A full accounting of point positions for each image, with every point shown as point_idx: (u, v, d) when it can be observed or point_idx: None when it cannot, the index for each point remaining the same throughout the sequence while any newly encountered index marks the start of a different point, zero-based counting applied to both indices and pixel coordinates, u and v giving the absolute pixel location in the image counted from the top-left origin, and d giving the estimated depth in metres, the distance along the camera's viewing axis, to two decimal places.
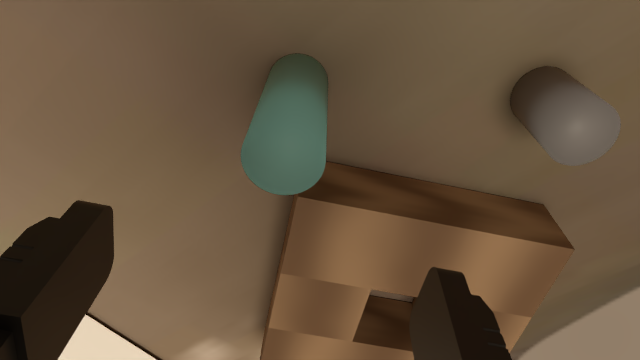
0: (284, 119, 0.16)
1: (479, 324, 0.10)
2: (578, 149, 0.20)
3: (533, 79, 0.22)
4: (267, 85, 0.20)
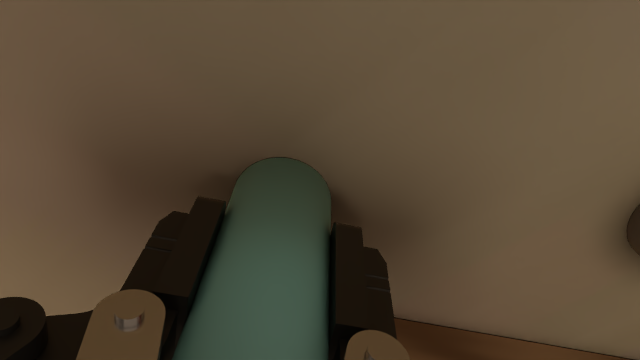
0: None
1: (363, 269, 0.11)
2: None
3: None
4: (220, 238, 0.11)
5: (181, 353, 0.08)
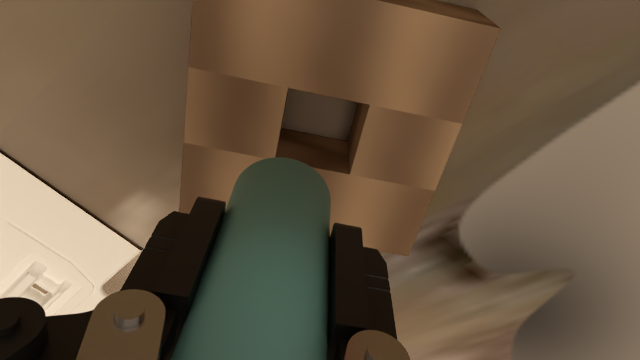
0: None
1: (363, 269, 0.11)
2: None
3: None
4: (219, 238, 0.11)
5: (180, 353, 0.08)
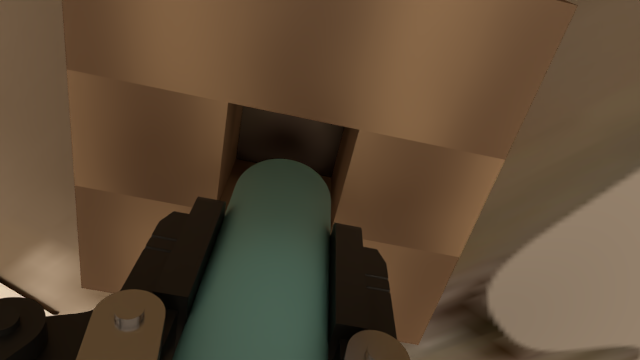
0: None
1: (363, 269, 0.11)
2: None
3: None
4: (220, 240, 0.11)
5: (181, 355, 0.08)
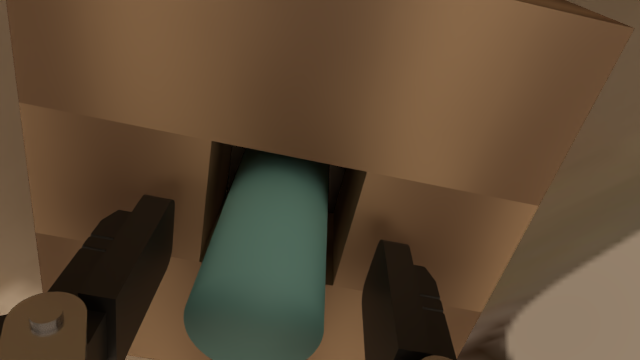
0: (254, 270, 0.09)
1: (417, 289, 0.10)
2: None
3: None
4: (239, 174, 0.14)
5: (214, 244, 0.11)
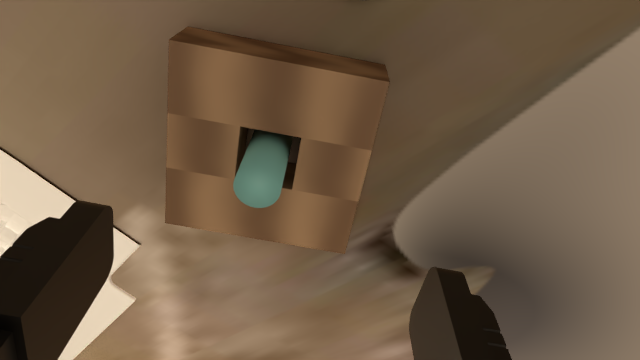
0: (256, 166, 0.28)
1: (479, 324, 0.10)
2: None
3: None
4: (251, 141, 0.33)
5: (242, 162, 0.30)
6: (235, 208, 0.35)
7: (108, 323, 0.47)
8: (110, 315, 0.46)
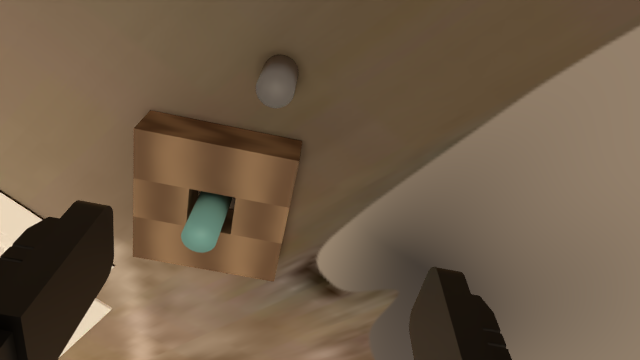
0: (197, 223, 0.39)
1: (479, 324, 0.10)
2: (276, 98, 0.37)
3: (267, 62, 0.39)
4: (198, 198, 0.43)
5: (189, 218, 0.40)
6: None
7: (89, 328, 0.56)
8: (91, 322, 0.56)
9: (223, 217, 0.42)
